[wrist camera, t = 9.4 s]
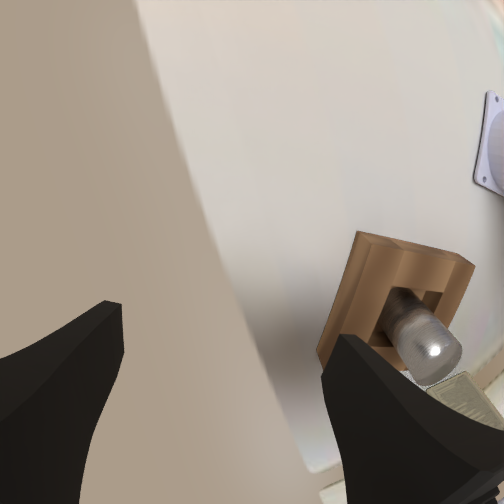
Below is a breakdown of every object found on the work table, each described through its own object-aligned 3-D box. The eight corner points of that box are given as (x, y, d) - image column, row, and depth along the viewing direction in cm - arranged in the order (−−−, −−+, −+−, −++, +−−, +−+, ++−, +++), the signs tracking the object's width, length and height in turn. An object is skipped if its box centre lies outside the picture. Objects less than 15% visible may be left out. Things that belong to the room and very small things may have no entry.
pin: (411, 278, 20) (463, 331, 14) (417, 313, 22) (461, 367, 15) (370, 299, 21) (413, 360, 14) (379, 332, 22) (416, 393, 15)
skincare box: (419, 409, 28) (458, 486, 17) (426, 387, 26) (473, 469, 15) (459, 391, 28) (502, 458, 17) (468, 367, 26) (519, 438, 15)
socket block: (457, 253, 20) (475, 266, 18) (413, 352, 24) (424, 369, 22) (356, 230, 19) (372, 243, 17) (316, 349, 23) (323, 370, 20)
